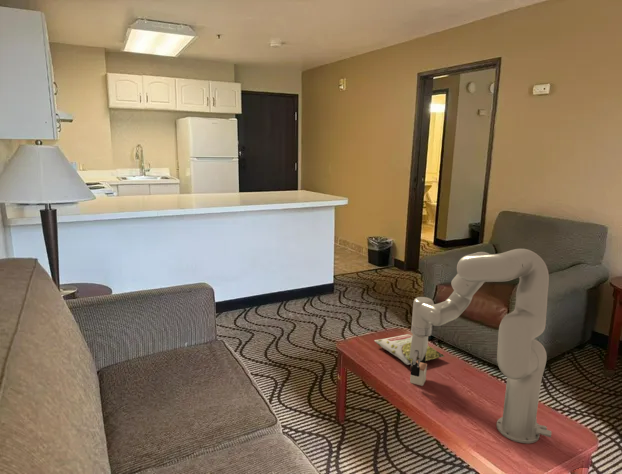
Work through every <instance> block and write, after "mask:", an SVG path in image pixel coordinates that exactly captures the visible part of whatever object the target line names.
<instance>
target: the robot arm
mask: <svg viewBox="0 0 622 474" xmlns="http://www.w3.org/2000/svg"><path fill="white" fill-rule="evenodd" d="M456 272H457V273H456V275H455V276H454V277H453V278H452V280H451V282H450V283H451V284H450V285H451V287H452V289H453V291H452V293H451V294H450V295H449V297H448V298H446V299H445V301H442V302H438V303H434V302H435V301H434V300H433V299H431V298H430V297H426V296H418V297H415V298H414V299H413V304H412V316H411V317H412V318H411V328H410V329H411V330H410V332H411V336H412V341H411V348H410V356H409V357H410V359H411V358H413V359H412V364H410V376H411V375H414V376H417V377H419V372H420V367H419V365H420V362H422V363H426V361H425V360H426V356H425V355H426V352H427V347H428V346H429V337H431V336H432V329H433V328H432V326H434V327H441V326H443V325H445V324H448V323H450V322H452V321H455V320H456V319H458V318H459V317H460V316H461V315H462V314H463V312H464V311H465V310H467V308H468V307H469V305H470V304H471V302H472V300H473V297H474V295H475V294H476V293H477V292H478V290H479V289H480V288H481V287H482V286H483V284H485V283H486V282H487V283H493V282H494V283H495V282H498V283H501V282H510V281H513V280H516V279H517V278H519V281H518V285H517V287H516V288H517V289H516V293H515V305H514V310H512V311H511V312H508V313H507V314H506V315H504V316H503V318H502V319H501V321H500V324H499V327H498V332H497V334H498V335H497V349H496V363H497V365H498V366H497V367H498V368H499V370H500V372H501V373H502V374H503V375H504V376H505V377H507V378H506V385H505V394H504V402H503V403H504V404H503V411H502V416H501V417H500V418H498V419H497V421H496V428H497V430H498V432H499V433H500V434H501V435H502V436H504V437H505V438H507V439H509V440H510V441H512V442H515V443H521V444H533V443H536V442H537V441H539V439H540V437H541V436H544V437H548V438H552V430H549V429H547V428H548V427H547V426H546V425H543V424H539V423H538V422H537V420H538V419H537V413H538V406H539V401H540V400H539V399H540V394H541V393H540V392H541V385H542V381H543V375H544V372H545V368H546V364H547V359H548V358H547V351H546V349H545V347H544V345H543V344H542V343H541V342H540V341H538V340H537V339H536V338H538V337H540V336H541V335H542V334H543V333H544V331H545V330H546V323H547V310H548V309H547V308H548V296H549V295H548V294H549V284H550V275H549V270H548V266H547V264H546V262H545V261H544V259H543V258H542V257H541V256H540V254H539V255H538V254H537V253H536V252H534V251H532V250H530V249H526V248H515V249H511V250H508V251H507V250H506V251H504V252H501V253H494V254H491V253H489V252H487V251H486V252H485V251H477V252H474V253H470V254H466V255H464V256H462V257H461V258H460V259H459V260H458V261H457V265H456ZM416 360H417V361H418V363H417V362H416Z"/></svg>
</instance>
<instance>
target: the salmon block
mask: <svg viewBox="0 0 622 474" xmlns="http://www.w3.org/2000/svg"><path fill="white" fill-rule="evenodd" d="M416 362H417V363H418V361H416ZM419 367H420V372H419V377H417V376H414V375H411V374H410V375H409V376H410V380H409V382H410V383H411V384H413V385H418V386H422V387H423V386H424V385H425V383H426V379H427V369H428V363H427V362H425V363H422V362H420V365H419Z"/></svg>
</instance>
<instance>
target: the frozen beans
mask: <svg viewBox="0 0 622 474" xmlns="http://www.w3.org/2000/svg"><path fill="white" fill-rule="evenodd" d="M412 336H413V335H412V334H410V333H406V334H401V335H396V336H391V337H387V338H380V339H374V340H373V341H374V342H375V343H376V344H377V345H378V346H379V347H381V348H382V349H384V350H386V351H387V352H389V353H390V354H392V355H393V356H395V357H396V358H397V359H399V360H400V361H401V362H402V363H404V364H405V365H407V366H409V365H411V364H412V359H413V358H411V359H410V357H409V356H410V348H411V341H412ZM425 356H426V360H425V362H426V361H427V362H428V361H430V360H431V361H432V360H435V359H439V358H443V357H445V355H444V354H443V353H440V352H439V351H438V350H436V349H435V348H433V347H432V346H429V345H428V347H427V352H426V355H425ZM416 361H417V360H416Z"/></svg>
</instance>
